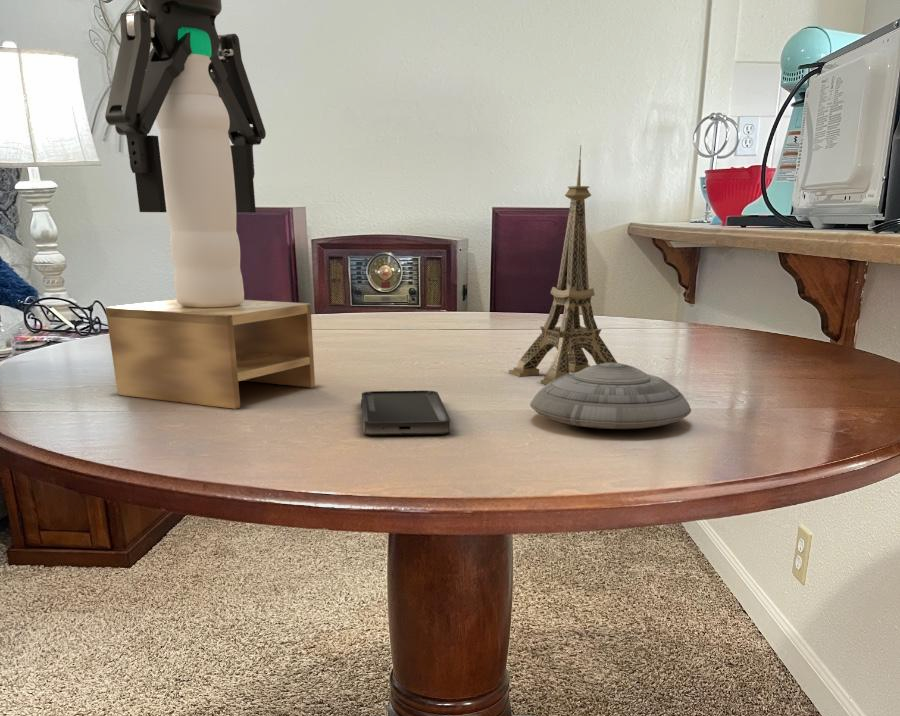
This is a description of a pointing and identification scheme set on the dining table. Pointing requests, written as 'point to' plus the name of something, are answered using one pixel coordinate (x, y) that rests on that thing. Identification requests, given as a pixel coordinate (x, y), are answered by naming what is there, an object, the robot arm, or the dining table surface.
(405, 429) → the phone
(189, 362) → the rack
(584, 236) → the eiffel tower
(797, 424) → the dining table surface
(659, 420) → the flying saucer
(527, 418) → the dining table surface
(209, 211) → the water bottle
